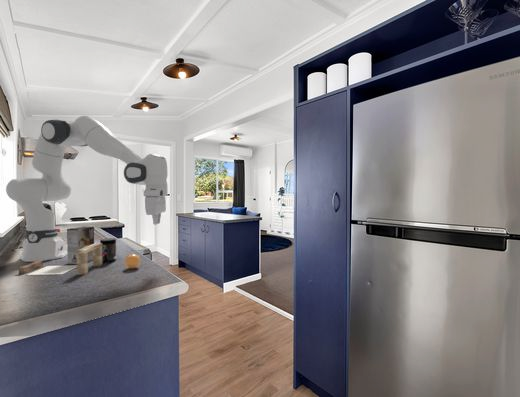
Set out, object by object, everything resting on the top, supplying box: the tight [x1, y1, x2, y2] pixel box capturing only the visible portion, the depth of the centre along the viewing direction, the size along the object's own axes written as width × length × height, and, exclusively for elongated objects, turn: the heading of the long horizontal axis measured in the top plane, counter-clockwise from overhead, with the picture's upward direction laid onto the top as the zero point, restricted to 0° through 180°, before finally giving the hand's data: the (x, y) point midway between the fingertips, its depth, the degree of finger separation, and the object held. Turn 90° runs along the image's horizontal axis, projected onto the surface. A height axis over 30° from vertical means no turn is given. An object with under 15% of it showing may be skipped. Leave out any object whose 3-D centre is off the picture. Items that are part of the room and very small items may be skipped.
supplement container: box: [99, 237, 117, 264], centre depth 130 cm, size 7×7×10 cm
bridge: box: [76, 242, 103, 276], centre depth 116 cm, size 3×15×10 cm, turn 7°
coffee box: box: [66, 226, 95, 265], centre depth 128 cm, size 9×6×16 cm
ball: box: [124, 253, 141, 269], centre depth 118 cm, size 6×6×6 cm
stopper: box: [18, 261, 44, 275], centre depth 114 cm, size 11×2×2 cm, turn 7°
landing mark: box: [26, 264, 77, 276], centre depth 114 cm, size 13×13×1 cm
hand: (156, 223), depth 119 cm, fingers closed
